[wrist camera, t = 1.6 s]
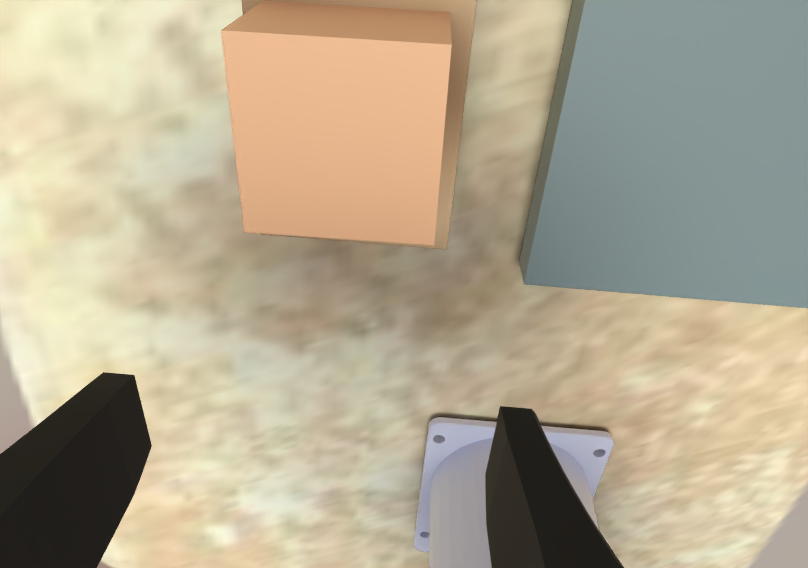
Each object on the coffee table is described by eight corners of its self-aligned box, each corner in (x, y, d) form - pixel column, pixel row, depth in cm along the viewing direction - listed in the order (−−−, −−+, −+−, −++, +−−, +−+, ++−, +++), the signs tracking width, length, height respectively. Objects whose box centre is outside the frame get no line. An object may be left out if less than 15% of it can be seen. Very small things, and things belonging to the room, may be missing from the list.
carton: (435, 184, 15) (434, 245, 13) (276, 174, 15) (244, 232, 13) (450, 12, 13) (451, 45, 10) (263, 0, 13) (220, 30, 10)
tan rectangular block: (446, 173, 20) (446, 249, 16) (297, 161, 20) (260, 234, 16) (477, -112, 16) (489, -107, 12) (286, -126, 16) (231, -126, 12)
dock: (823, 286, 22) (873, 339, 19) (519, 260, 22) (529, 310, 19) (1101, -214, 14) (1243, -234, 11) (624, -252, 14) (663, -280, 12)
